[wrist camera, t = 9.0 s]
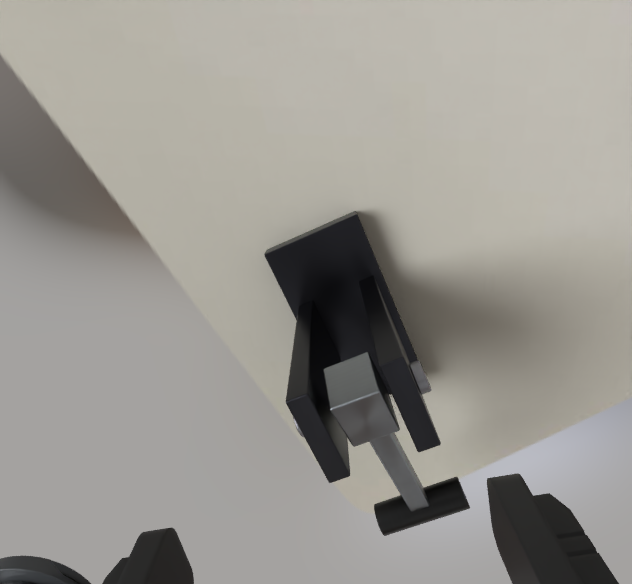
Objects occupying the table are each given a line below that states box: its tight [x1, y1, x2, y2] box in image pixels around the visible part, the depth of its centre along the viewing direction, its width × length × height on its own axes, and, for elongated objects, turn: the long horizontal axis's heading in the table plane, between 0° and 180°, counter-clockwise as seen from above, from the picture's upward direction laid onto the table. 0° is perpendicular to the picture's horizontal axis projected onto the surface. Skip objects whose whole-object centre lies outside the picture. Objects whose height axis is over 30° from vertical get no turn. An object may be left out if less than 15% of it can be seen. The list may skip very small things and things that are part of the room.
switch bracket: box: [265, 211, 441, 483], centre depth 23 cm, size 12×6×12 cm, turn 24°
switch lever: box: [323, 352, 470, 536], centre depth 22 cm, size 12×5×2 cm, turn 24°
